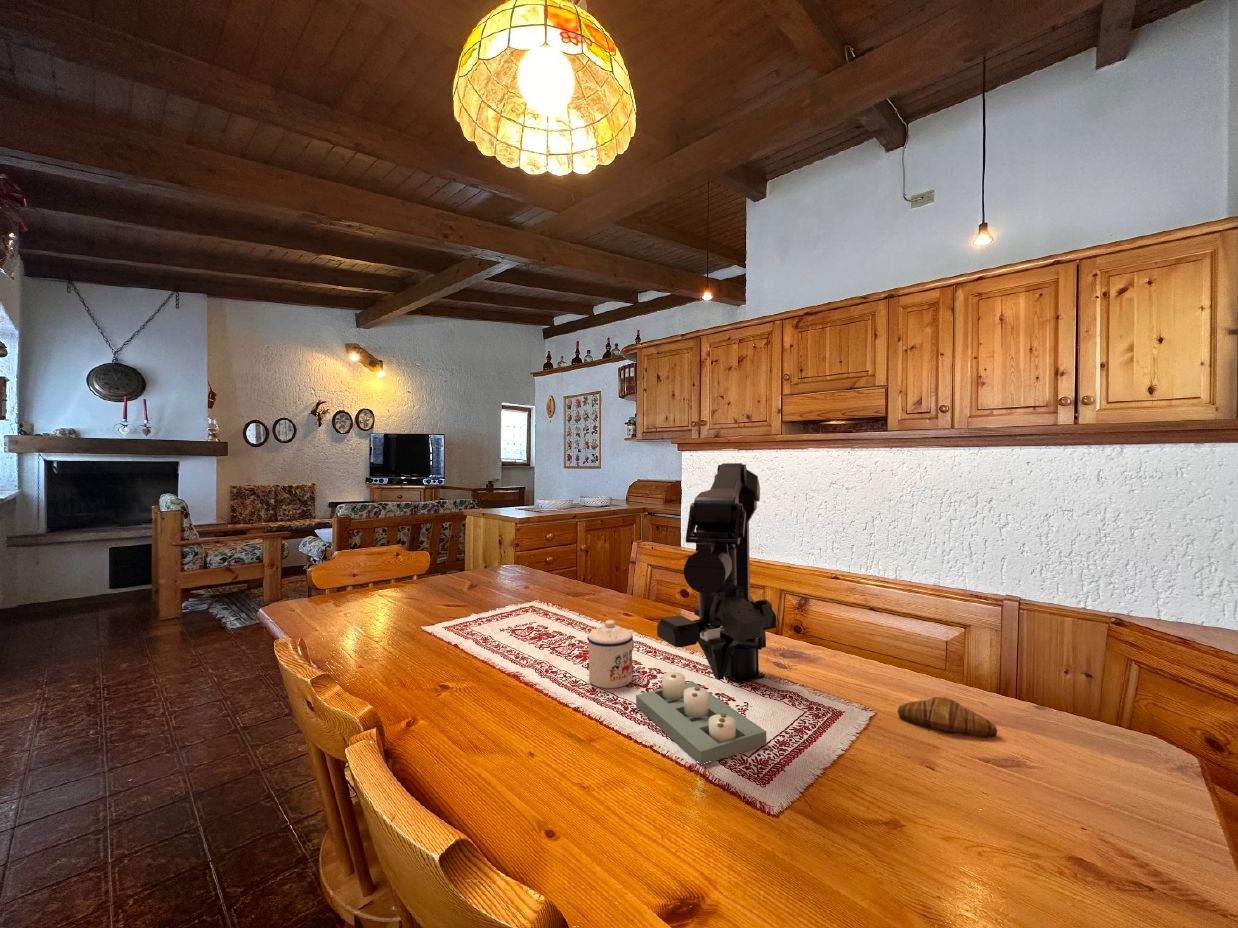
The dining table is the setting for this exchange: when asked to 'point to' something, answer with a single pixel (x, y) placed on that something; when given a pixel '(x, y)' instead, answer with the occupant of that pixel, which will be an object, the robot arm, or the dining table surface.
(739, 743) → the board
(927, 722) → the croissant
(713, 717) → the button three
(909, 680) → the dining table surface
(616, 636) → the teacup with lid
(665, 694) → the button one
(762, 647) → the robot arm
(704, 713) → the button two
